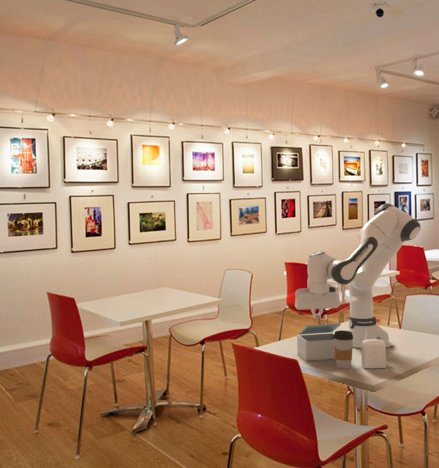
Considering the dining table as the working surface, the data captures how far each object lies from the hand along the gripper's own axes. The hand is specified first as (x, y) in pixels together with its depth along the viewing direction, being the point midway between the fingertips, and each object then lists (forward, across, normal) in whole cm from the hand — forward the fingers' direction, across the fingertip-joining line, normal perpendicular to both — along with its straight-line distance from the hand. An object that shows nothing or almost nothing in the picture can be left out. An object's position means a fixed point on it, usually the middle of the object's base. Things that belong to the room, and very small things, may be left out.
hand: (317, 318), depth 242 cm
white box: (+19, +3, +3) cm, 19 cm away
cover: (+7, +3, +4) cm, 8 cm away
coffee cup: (+19, +7, -13) cm, 24 cm away
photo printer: (+19, +19, -17) cm, 32 cm away
